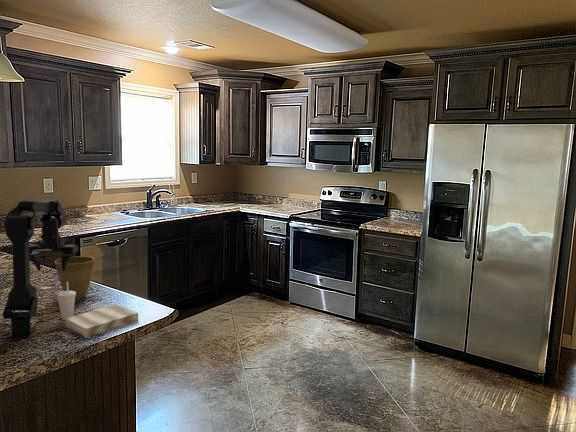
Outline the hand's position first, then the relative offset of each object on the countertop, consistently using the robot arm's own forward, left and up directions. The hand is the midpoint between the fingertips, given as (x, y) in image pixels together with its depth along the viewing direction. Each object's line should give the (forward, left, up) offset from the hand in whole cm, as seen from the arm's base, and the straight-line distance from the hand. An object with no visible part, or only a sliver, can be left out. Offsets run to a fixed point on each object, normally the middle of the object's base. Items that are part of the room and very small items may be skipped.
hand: (51, 270), depth 174 cm
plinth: (-20, -24, -14) cm, 34 cm away
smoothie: (-14, -10, -15) cm, 23 cm away
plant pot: (+12, -5, -15) cm, 20 cm away
